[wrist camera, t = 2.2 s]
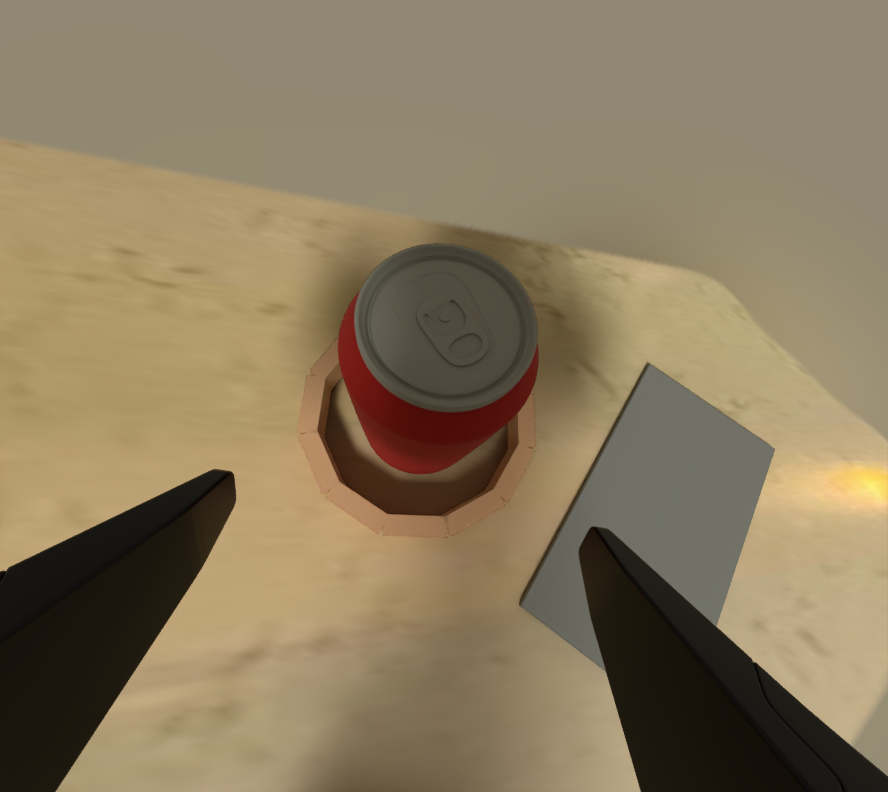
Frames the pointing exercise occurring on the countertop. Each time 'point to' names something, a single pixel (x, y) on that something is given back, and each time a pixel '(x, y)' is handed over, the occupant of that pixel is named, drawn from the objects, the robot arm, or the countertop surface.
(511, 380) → the beverage can
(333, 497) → the segmented polygon ring
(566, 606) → the mat
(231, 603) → the countertop surface
